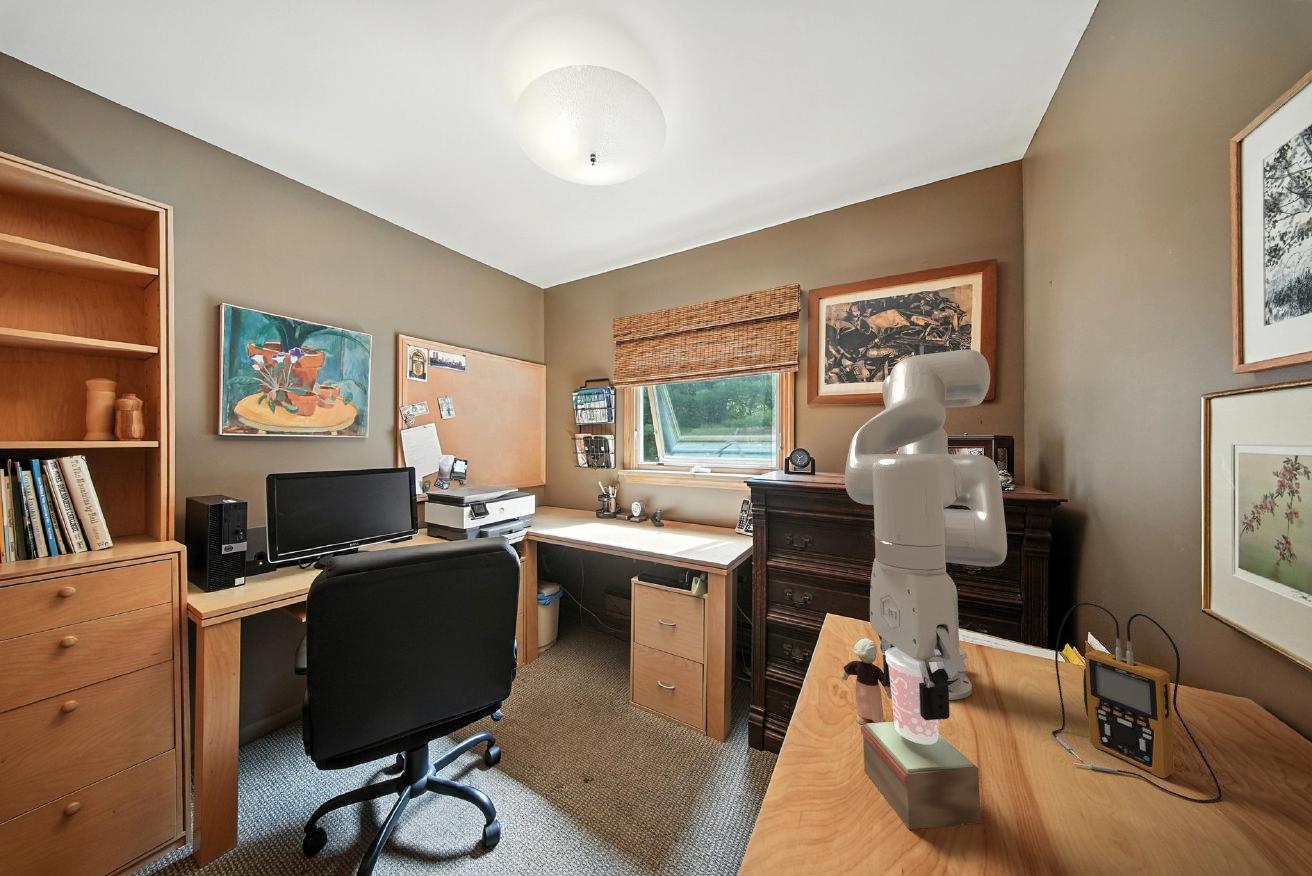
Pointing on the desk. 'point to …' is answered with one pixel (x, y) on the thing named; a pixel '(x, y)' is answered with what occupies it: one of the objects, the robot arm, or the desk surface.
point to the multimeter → (1130, 709)
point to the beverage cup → (909, 698)
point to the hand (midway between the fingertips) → (914, 699)
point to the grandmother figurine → (867, 683)
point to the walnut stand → (921, 778)
